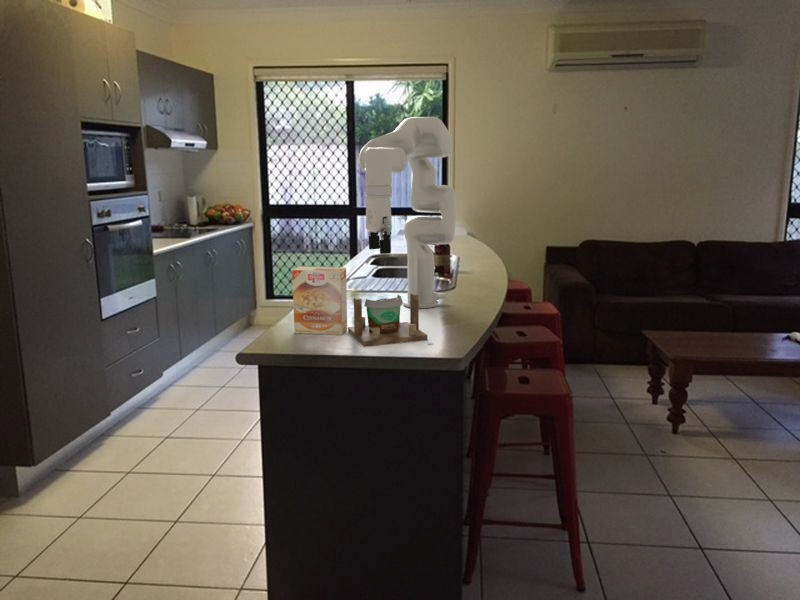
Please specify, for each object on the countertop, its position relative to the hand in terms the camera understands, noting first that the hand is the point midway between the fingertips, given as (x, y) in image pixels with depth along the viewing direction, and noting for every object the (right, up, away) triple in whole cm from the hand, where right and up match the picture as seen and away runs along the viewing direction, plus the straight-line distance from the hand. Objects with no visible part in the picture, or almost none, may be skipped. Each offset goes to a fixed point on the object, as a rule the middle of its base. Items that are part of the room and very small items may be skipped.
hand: (379, 251), depth 194 cm
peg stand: (+2, -25, +3) cm, 25 cm away
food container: (+2, -24, +1) cm, 24 cm away
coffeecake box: (-18, -24, +8) cm, 31 cm away
